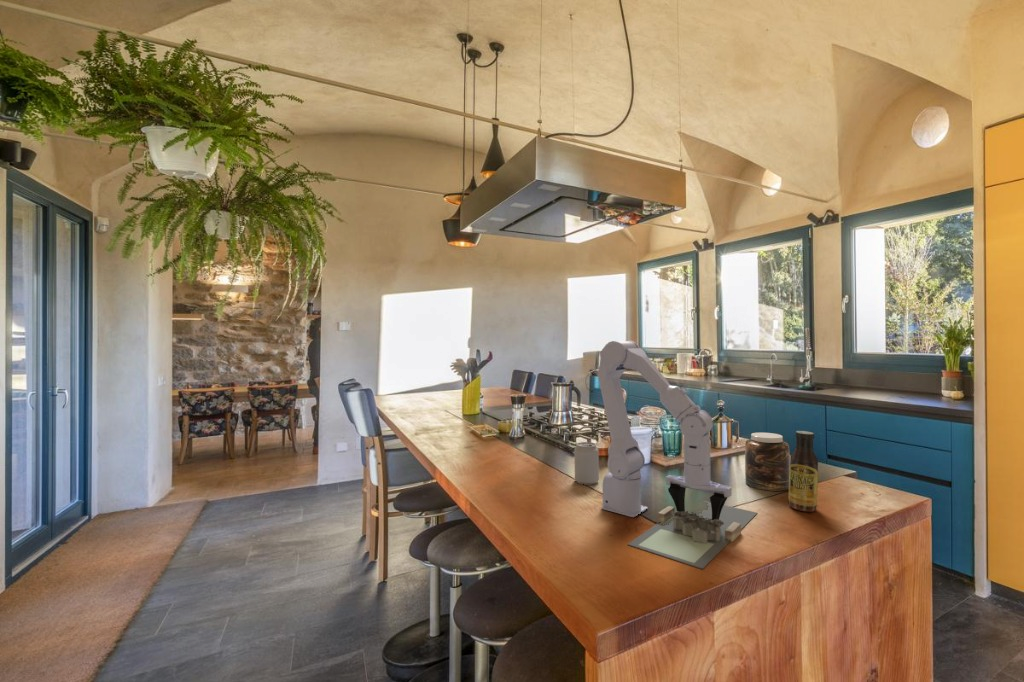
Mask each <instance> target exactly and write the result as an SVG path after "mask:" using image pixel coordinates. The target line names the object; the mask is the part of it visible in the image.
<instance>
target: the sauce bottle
mask: <svg viewBox="0 0 1024 682" xmlns="http://www.w3.org/2000/svg"><path fill="white" fill-rule="evenodd" d="M794 436H795V438H796V439H795V448H794V450H793V452H792V453H791V454H790V472H789V489H788V505H789V507H790V508H791V509H794V510H796V511H800V512H804V513H805V512H806V513H813V512H815V511H816V510H817V507H818V506H817V505H818V488H819V485H818V483H819V481H818V479H819V459H818V457H817V455H816V453H815V452H814V440H815V433H814V432H811V431H806V430H796V431H795V435H794Z"/></svg>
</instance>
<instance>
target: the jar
mask: <svg viewBox="0 0 1024 682" xmlns="http://www.w3.org/2000/svg"><path fill="white" fill-rule="evenodd" d="M783 439H784V438H783V435H781V434H779V433H772V432H752V433H751V434H750V439H747V440H746V441H745V443H744V444H745V446H744V467H745V468H744V471H745V472H744V474H745V479H744V480H745V485H747V486H748V487H751V488H753V489H757V490H761V489H762V491H770V492H771V491H772V492H783V491H789V472H790V460H791V454H790V453H791V452H790V451H791V450H790V444H789V443H788V442H786V441H784V440H783Z"/></svg>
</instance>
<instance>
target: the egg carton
mask: <svg viewBox="0 0 1024 682" xmlns="http://www.w3.org/2000/svg"><path fill="white" fill-rule="evenodd" d="M671 513H672V515H673V516H674V518H673V528H674V529H676V530H677V529H678V530H683V535H686V536H687V535H688V536H692V540H693V541H695V542H701V543H707V540H715V541H720V534H721V529H720V527H721V526H722V525H724V523H723V522H722V521H721V520H718V519H714V520H712V519H711V518H709V519H708V518H707V517H705V516H701V515H697V514H696V513H695V512H693V511H692V512H691V513H688V511H685V512H684V511H681V512H679V511H677V512H673V511H671Z"/></svg>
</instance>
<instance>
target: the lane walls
mask: <svg viewBox="0 0 1024 682" xmlns="http://www.w3.org/2000/svg"><path fill="white" fill-rule="evenodd" d="M671 511H673V512H675V511H676V509H675V506H671V505H668V506H667V507H665V508H663V509H661V510H660V511H659V512H657V520H658V521H661V522H665V521H667V520H668V519H670V518H671V517H673V515H672V513H671ZM658 521H657V522H658ZM741 534H742V530H741V523H736V522H733V523H732V524H731V525H730V526H729V527H728V528H727V529H726V530H725V539H726V540H730V542H729V543H733V542H734V541H735V540H737V538H738V537H739V536H740V535H741Z"/></svg>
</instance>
